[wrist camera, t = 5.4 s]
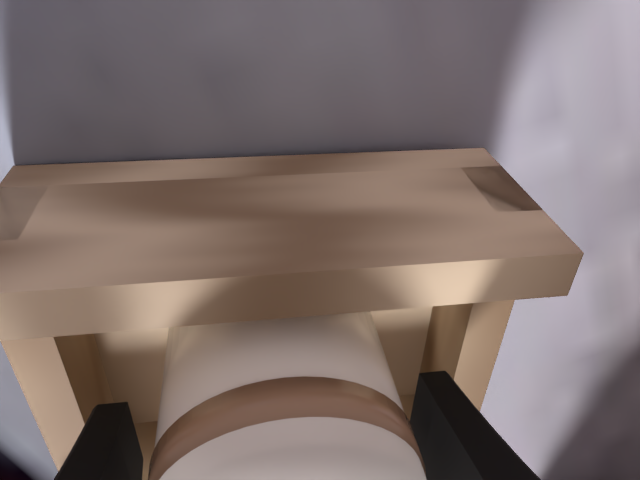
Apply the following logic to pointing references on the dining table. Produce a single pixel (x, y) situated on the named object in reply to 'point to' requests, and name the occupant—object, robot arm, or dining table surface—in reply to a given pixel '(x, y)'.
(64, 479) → the robot arm
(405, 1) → the dining table surface
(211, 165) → the rack
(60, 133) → the dining table surface
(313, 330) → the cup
